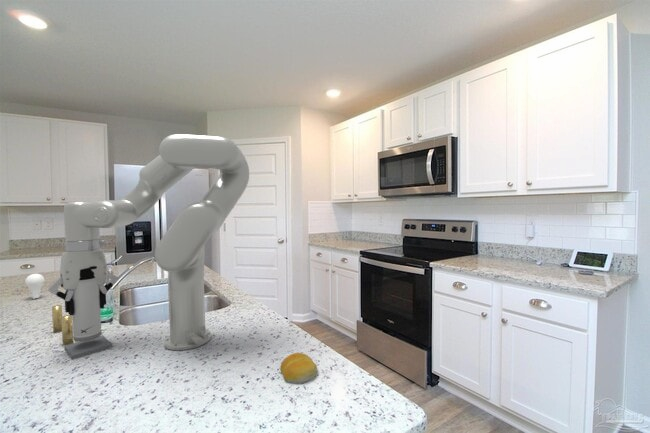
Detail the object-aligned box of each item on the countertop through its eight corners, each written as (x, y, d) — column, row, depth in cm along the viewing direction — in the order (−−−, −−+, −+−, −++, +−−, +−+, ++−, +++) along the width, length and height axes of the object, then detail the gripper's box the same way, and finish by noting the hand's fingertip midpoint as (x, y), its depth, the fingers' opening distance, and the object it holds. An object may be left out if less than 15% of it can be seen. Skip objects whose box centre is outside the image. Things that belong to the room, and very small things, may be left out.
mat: (112, 347, 88) (112, 343, 88) (72, 359, 82) (71, 355, 82) (102, 338, 94) (102, 335, 94) (64, 349, 88) (64, 345, 88)
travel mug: (87, 342, 84) (83, 268, 83) (67, 341, 86) (63, 268, 85) (108, 333, 90) (104, 264, 89) (89, 331, 92) (85, 263, 91)
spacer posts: (99, 336, 96) (97, 310, 96) (63, 346, 90) (62, 318, 89) (84, 323, 107) (83, 300, 106) (52, 331, 100) (51, 306, 100)
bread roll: (286, 388, 68) (286, 370, 68) (277, 368, 76) (277, 352, 76) (322, 380, 71) (322, 362, 70) (310, 361, 79) (310, 346, 79)
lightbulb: (36, 301, 133) (34, 275, 132) (22, 301, 133) (20, 275, 132) (49, 296, 139) (47, 272, 138) (35, 297, 139) (34, 272, 138)
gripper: (115, 242, 96) (117, 300, 97) (39, 249, 83) (42, 316, 83) (123, 244, 91) (126, 305, 92) (44, 251, 78) (48, 323, 79)
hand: (86, 310), depth 88 cm, fingers closed on travel mug, 6 cm apart
